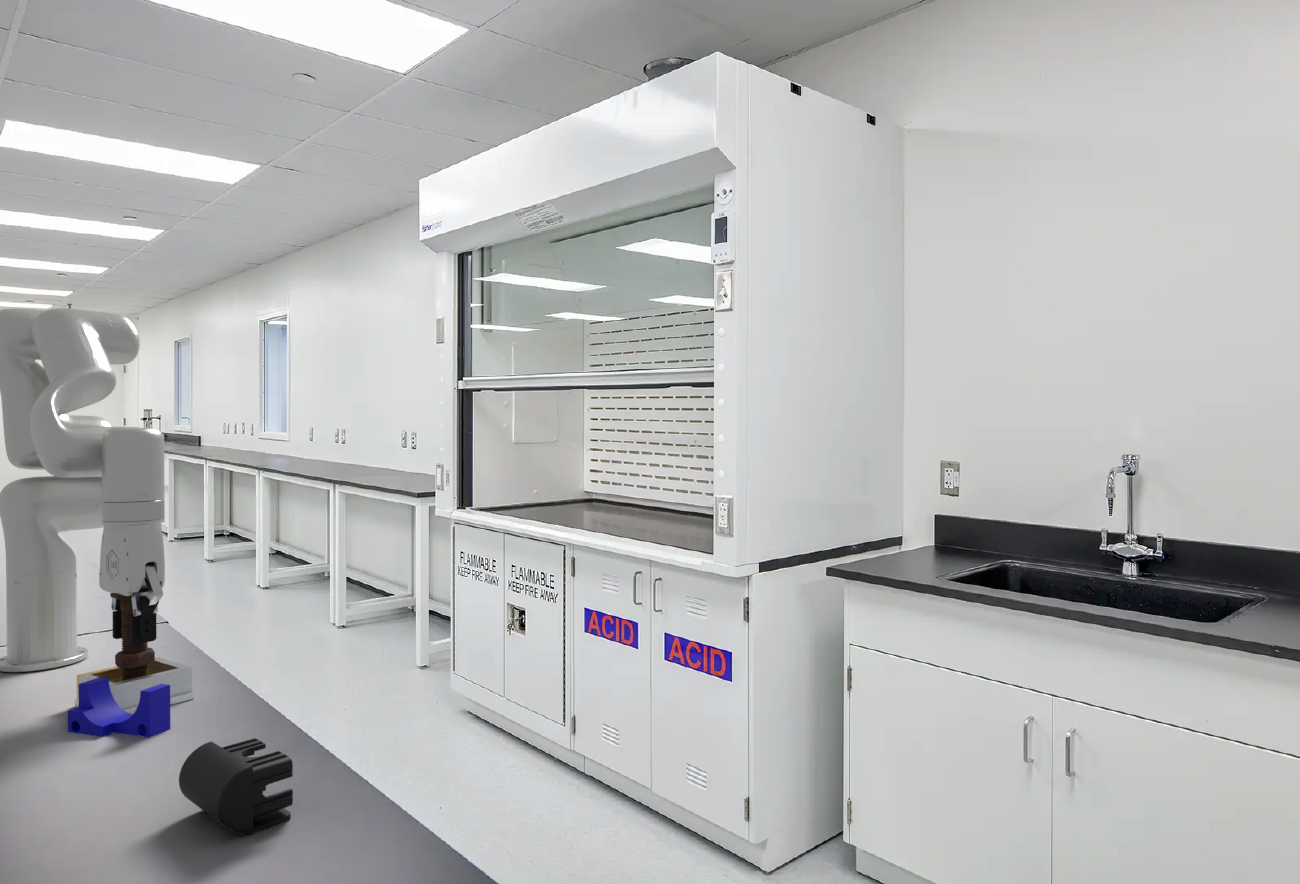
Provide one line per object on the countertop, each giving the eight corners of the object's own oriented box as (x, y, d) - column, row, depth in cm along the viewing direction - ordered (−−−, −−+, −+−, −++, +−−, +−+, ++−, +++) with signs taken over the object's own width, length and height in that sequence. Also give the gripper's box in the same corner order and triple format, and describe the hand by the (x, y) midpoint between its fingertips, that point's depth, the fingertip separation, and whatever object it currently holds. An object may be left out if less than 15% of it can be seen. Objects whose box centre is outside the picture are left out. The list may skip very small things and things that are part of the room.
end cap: (178, 817, 79) (177, 749, 79) (251, 792, 85) (250, 729, 85) (218, 850, 73) (218, 776, 73) (295, 821, 78) (294, 753, 78)
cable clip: (67, 733, 103) (67, 687, 103) (100, 721, 107) (100, 677, 107) (139, 743, 99) (139, 695, 99) (170, 730, 103) (170, 684, 103)
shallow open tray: (74, 706, 113) (74, 674, 112) (157, 685, 122) (157, 656, 122) (109, 721, 106) (109, 687, 106) (194, 698, 116) (194, 667, 116)
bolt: (132, 696, 111) (131, 589, 111) (102, 694, 112) (101, 587, 112) (166, 683, 116) (165, 581, 116) (137, 681, 117) (136, 580, 117)
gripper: (78, 512, 116) (79, 636, 116) (132, 518, 106) (133, 654, 106) (134, 508, 122) (135, 626, 122) (191, 514, 112) (191, 642, 113)
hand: (134, 638), depth 114 cm, fingers open, 4 cm apart
